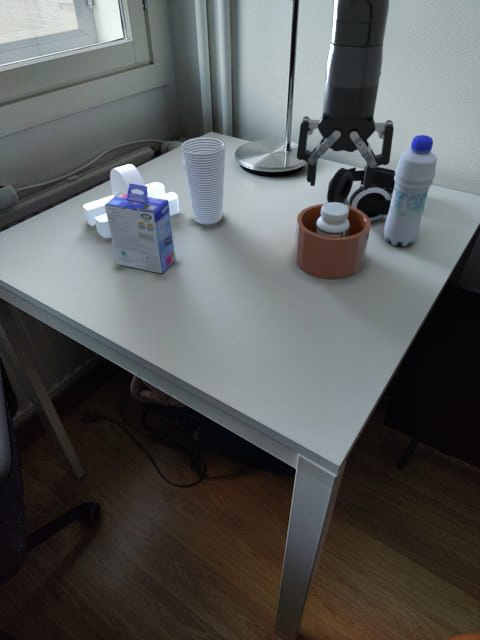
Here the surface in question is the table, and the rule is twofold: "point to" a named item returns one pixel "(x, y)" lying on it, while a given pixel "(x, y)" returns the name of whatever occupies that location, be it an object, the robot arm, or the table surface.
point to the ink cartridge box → (141, 230)
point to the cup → (205, 177)
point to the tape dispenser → (120, 184)
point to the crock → (330, 245)
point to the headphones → (363, 191)
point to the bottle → (410, 191)
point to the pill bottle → (333, 220)
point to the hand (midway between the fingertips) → (338, 186)
